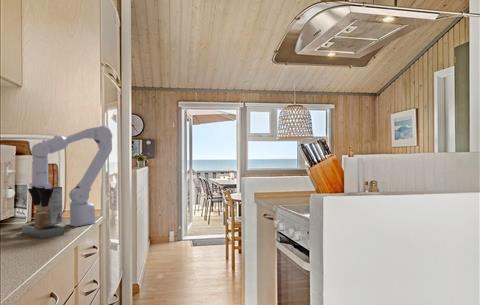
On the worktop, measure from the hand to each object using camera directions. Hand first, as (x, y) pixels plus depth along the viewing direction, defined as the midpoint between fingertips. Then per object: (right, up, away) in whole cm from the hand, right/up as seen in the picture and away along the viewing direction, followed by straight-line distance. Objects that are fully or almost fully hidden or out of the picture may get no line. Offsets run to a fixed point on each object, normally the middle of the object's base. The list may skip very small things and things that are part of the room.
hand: (40, 205), depth 149 cm
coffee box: (-3, -10, +13) cm, 17 cm away
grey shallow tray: (+6, -9, -10) cm, 15 cm away
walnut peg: (+6, -9, -10) cm, 15 cm away
